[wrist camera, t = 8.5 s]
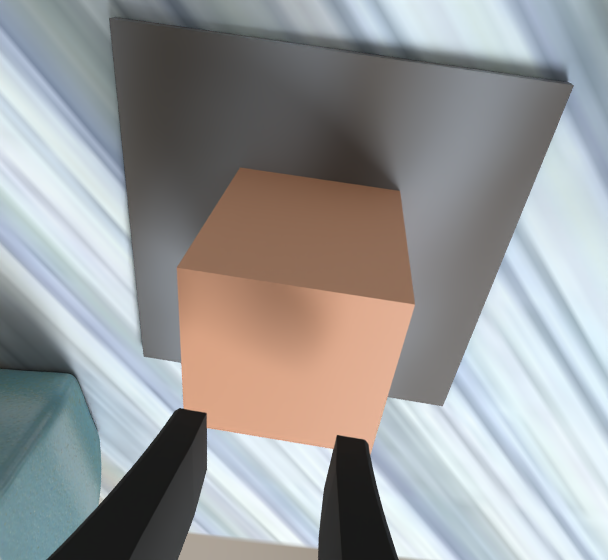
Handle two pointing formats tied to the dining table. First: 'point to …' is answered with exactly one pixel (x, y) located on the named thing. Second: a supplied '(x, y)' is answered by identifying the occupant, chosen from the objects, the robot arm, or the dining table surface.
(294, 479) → the dining table surface
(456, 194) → the post block
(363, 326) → the block
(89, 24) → the dining table surface
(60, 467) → the flower pot
